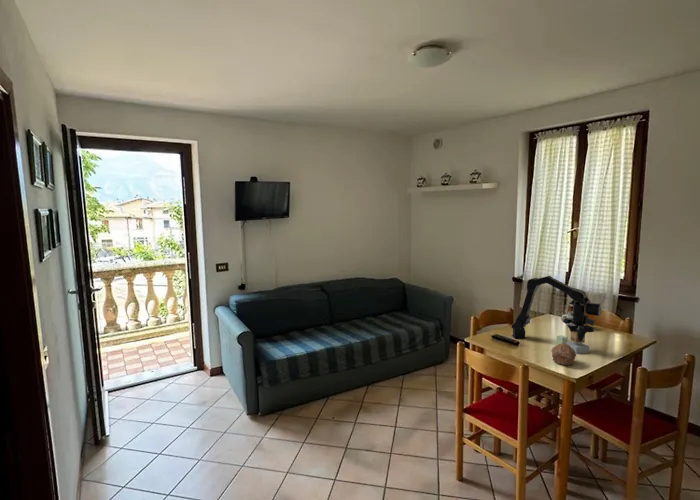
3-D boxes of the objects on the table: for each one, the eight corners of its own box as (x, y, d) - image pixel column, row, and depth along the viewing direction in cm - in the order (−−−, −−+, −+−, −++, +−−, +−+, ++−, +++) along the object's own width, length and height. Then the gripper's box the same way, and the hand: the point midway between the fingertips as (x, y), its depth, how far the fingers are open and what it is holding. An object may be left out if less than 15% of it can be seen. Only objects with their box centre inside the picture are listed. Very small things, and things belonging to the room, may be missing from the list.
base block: (576, 354, 213) (576, 347, 213) (565, 349, 221) (566, 342, 220) (588, 353, 214) (589, 346, 214) (577, 348, 222) (578, 341, 222)
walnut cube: (575, 342, 214) (576, 334, 214) (570, 339, 219) (570, 331, 219) (584, 342, 215) (585, 334, 214) (578, 339, 220) (579, 331, 219)
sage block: (562, 344, 228) (562, 338, 228) (556, 342, 232) (556, 335, 231) (567, 343, 229) (567, 337, 229) (561, 341, 233) (562, 335, 233)
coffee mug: (586, 327, 259) (586, 313, 258) (581, 331, 252) (582, 316, 251) (564, 323, 268) (565, 309, 267) (559, 326, 262) (560, 312, 261)
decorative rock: (556, 356, 209) (557, 338, 208) (579, 362, 201) (580, 344, 200) (546, 363, 201) (547, 344, 200) (569, 369, 192) (570, 350, 191)
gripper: (604, 317, 206) (602, 344, 208) (582, 308, 225) (580, 333, 226) (584, 317, 206) (582, 345, 207) (563, 308, 224) (562, 334, 226)
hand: (577, 339), depth 217 cm, fingers closed on walnut cube, 5 cm apart
